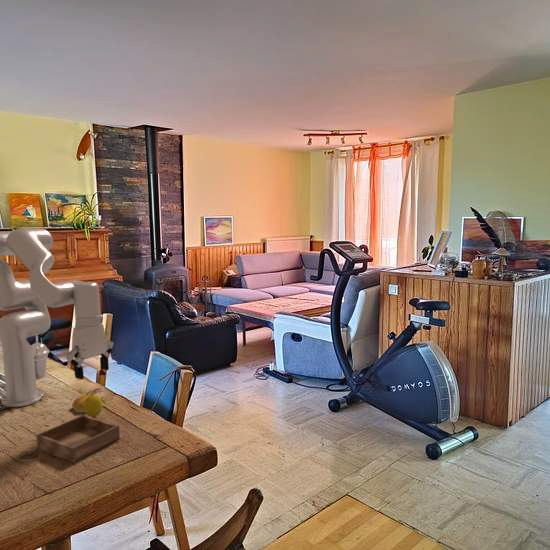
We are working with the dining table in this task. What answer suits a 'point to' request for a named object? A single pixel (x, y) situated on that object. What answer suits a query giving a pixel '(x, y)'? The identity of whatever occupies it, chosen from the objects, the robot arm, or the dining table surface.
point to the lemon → (93, 405)
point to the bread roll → (79, 404)
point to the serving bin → (78, 438)
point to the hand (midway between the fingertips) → (92, 373)
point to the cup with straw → (40, 358)
